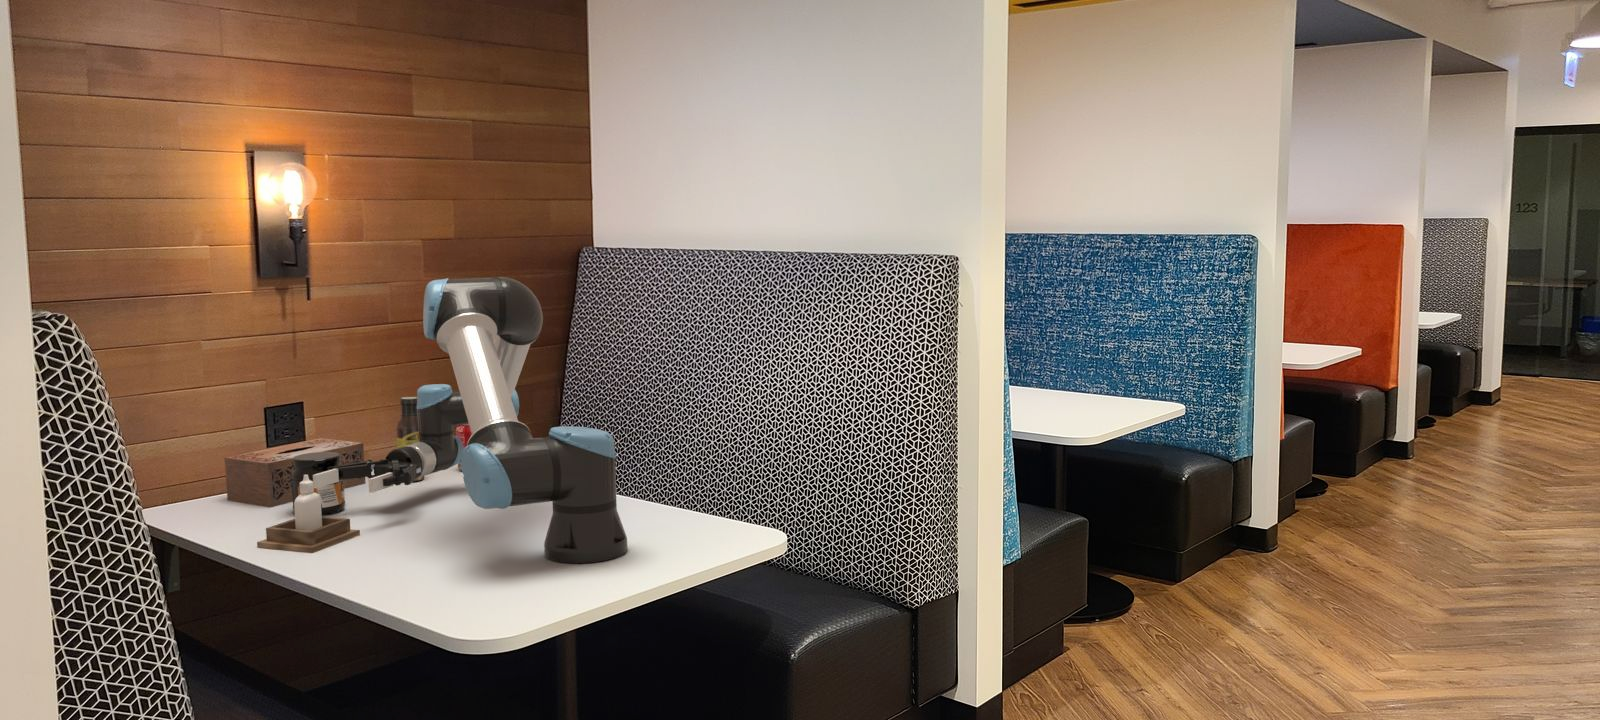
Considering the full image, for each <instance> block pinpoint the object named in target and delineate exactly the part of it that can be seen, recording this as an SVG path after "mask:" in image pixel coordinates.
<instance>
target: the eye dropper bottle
mask: <svg viewBox="0 0 1600 720" xmlns="http://www.w3.org/2000/svg"><path fill="white" fill-rule="evenodd" d="M313 492H314V488H313V481H310V480H309V478H308V475H304V478H303V481H302V482H300V493H301V494H300V495H299V496H298V497H297V498H296V499H295V502H294V510H295V512H294V519H295V526H296V529H297V530H308V531H311V530H314V529H317V528H320V527H322V516H323V515H322V513H321V499H320V495H319V494H317V493H313Z"/></svg>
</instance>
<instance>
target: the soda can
mask: <svg viewBox="0 0 1600 720" xmlns="http://www.w3.org/2000/svg"><path fill="white" fill-rule="evenodd" d="M455 436H456V437H458V438H459V439H460V441H461V443H462V445H463V448H465V447H466V446H467V442H468V440H469V438H470V437H471V436H472V433H471V430H470V426H469V424H465V425H457V427H456V429H455ZM457 468H458V469H459V470H461V471H462V468H461V461H460V462H459V463H458V464H457Z"/></svg>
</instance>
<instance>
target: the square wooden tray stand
mask: <svg viewBox="0 0 1600 720" xmlns="http://www.w3.org/2000/svg"><path fill="white" fill-rule="evenodd" d="M265 535H266V539H262V540H260V541H257V542H256V548H260V549H261V548H262V549H270V550H271V549H272V550H280V551H281V550H282V551H289V552H299V553H300V552H301V553H309V554H313V553H317V552H319V551H321V550H325V549H326V548H329V547H332V546H335V545H338V544H341V543H342V542H345V541H348V540H350V539H353V538H357V537H358V536H360V535H361V532H360V529H351V518H345V517H336V516H335V517H334V516H325V515H322V527H320V528H317V529H314V530H311V531H308V530H297V529H296V526H295V518H293V519H289V520H287V521H284V522H281V523H277V524H274V525H272V526H268V527H266V528H265Z"/></svg>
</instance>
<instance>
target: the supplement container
mask: <svg viewBox="0 0 1600 720" xmlns="http://www.w3.org/2000/svg"><path fill="white" fill-rule="evenodd" d="M340 463H341V459H340V454H339V453H335V452H313V453H306V454H301V455H297V456H295V457H293V458H292V467H293V468H294V470H293V471H292V472H291V474H290V477H291V482H292V498H293V502H292V510H293V513H295V510H294V502H295V499H296V498H297V497H298V496H299V495H300V494H301V493H300V482H302V481H303V478H304V475H308V478H309V480H310V481H313V475H315V474H318V473H322V472H325V471H327V467H330V466H338V465H339V464H340ZM313 488H314V487H313ZM313 493H317V494H319V495H320V499H321V513H322V516H328V515H332V514H335V513H336V514H337V513H338V512H340V511H342V510H343V509H344V508H345V507H346V498H345V497H346V496H345V489H344V480H339V482H337V484H329V485H326V486H323V487H320V488H314V492H313Z"/></svg>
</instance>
